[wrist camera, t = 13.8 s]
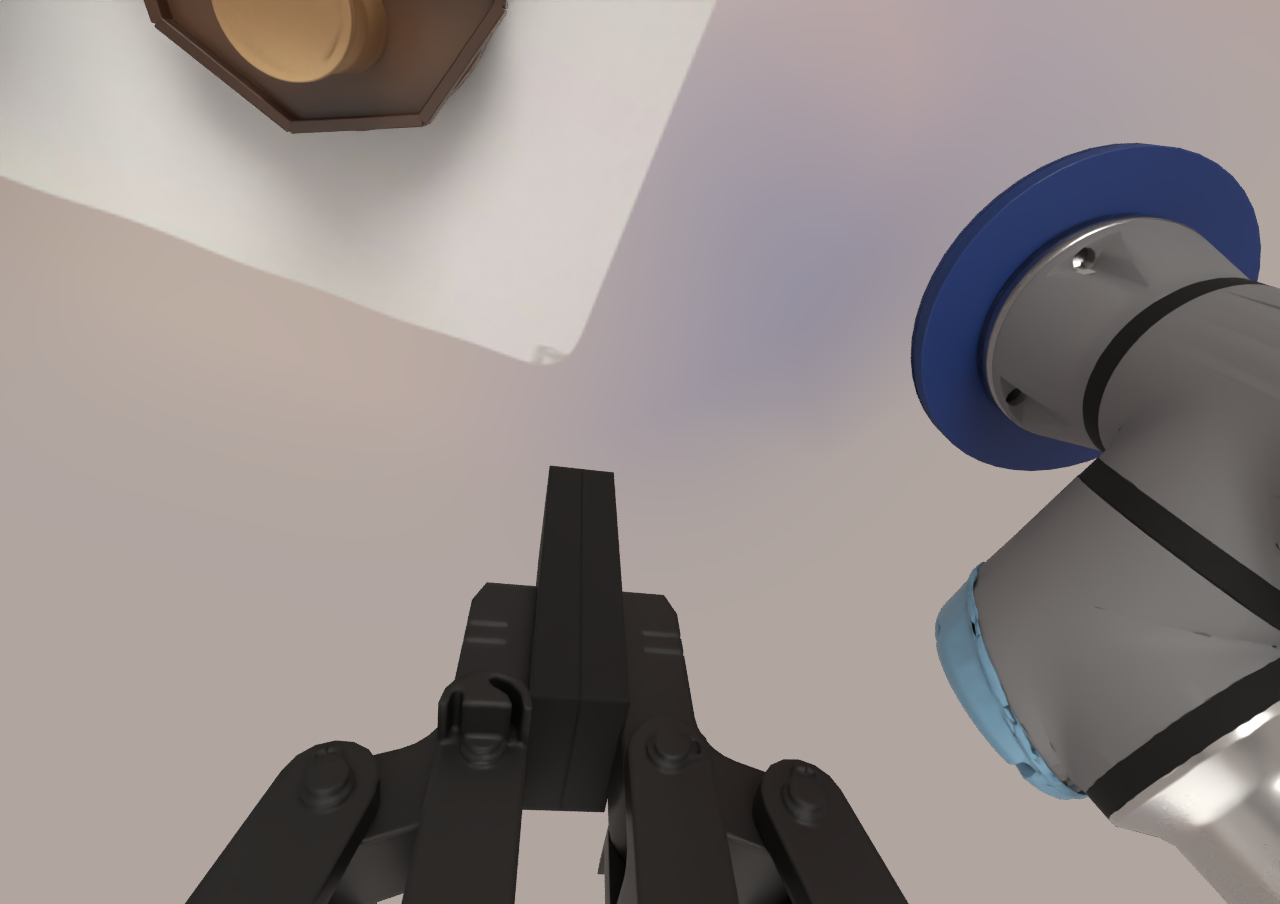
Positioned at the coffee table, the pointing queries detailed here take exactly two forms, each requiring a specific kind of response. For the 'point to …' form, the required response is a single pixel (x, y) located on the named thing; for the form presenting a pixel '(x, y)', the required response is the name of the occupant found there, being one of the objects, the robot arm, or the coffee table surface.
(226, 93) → the coffee table surface
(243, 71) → the tray
